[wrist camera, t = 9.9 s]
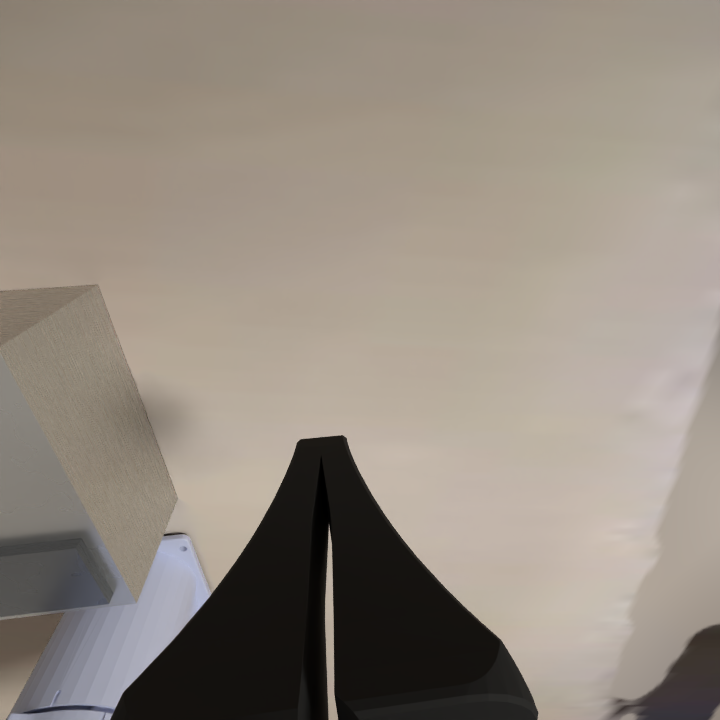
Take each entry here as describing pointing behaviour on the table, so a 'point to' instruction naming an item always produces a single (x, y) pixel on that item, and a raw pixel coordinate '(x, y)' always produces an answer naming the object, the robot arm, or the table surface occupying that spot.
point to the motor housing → (73, 459)
